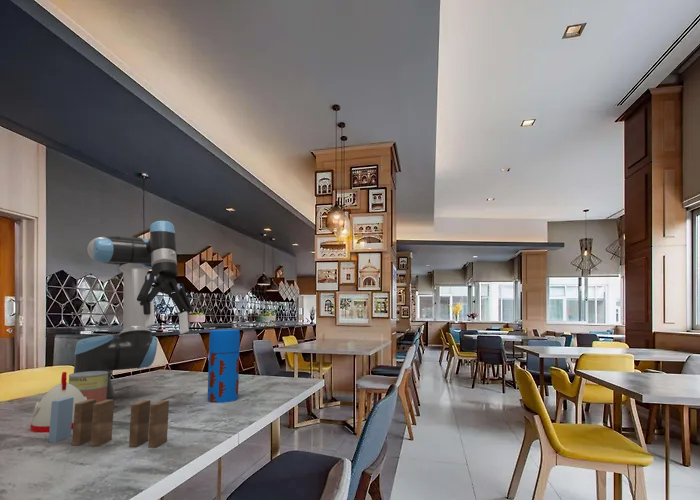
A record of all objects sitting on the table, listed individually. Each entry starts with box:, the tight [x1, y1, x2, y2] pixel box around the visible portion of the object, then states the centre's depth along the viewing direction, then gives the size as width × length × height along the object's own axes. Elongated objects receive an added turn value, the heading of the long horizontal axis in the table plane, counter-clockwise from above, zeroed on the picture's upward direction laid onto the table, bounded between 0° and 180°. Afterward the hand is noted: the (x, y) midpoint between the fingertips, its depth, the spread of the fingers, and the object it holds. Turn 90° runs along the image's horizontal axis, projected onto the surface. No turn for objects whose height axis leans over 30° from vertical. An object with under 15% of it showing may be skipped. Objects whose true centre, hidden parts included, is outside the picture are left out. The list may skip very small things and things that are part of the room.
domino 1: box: [48, 397, 74, 443], centre depth 109 cm, size 2×5×10 cm, turn 174°
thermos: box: [207, 329, 241, 404], centre depth 155 cm, size 11×11×25 cm
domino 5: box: [147, 399, 170, 449], centre depth 105 cm, size 2×5×10 cm, turn 174°
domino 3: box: [90, 400, 115, 447], centre depth 106 cm, size 2×5×10 cm, turn 174°
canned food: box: [68, 371, 109, 403], centre depth 139 cm, size 11×11×12 cm
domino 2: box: [71, 399, 96, 447], centre depth 107 cm, size 2×5×10 cm, turn 175°
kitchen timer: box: [30, 371, 87, 434], centre depth 123 cm, size 14×14×15 cm
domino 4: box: [128, 399, 152, 448], centre depth 105 cm, size 2×5×10 cm, turn 174°
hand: (168, 329), depth 125 cm, fingers open, 13 cm apart
